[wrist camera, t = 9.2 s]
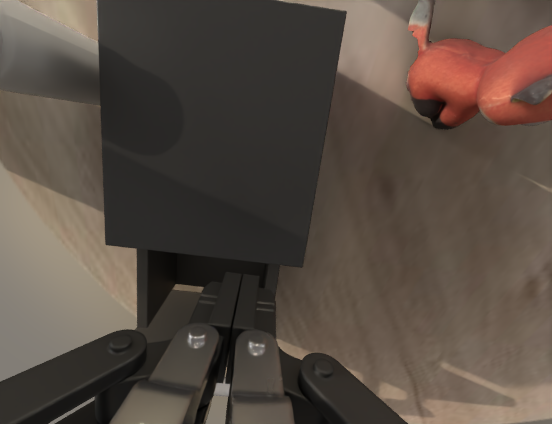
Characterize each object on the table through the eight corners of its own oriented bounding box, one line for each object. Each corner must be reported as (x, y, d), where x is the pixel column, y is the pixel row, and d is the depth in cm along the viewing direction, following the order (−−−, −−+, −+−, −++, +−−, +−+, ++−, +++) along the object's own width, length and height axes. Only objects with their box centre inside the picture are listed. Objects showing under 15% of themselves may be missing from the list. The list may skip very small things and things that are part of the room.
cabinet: (292, 222, 28) (302, 267, 18) (163, 206, 27) (105, 245, 18) (317, 59, 24) (347, 10, 14) (167, 36, 23) (95, -30, 14)
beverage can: (72, 98, 25) (-106, 67, 13) (76, 38, 23) (-119, -55, 12) (128, 112, 25) (2, 95, 13) (134, 54, 24) (1, -21, 12)
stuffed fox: (440, -23, 22) (620, -189, 11) (510, 89, 25) (718, 52, 13) (365, 48, 24) (453, -32, 12) (438, 148, 26) (570, 161, 14)
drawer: (267, 354, 31) (265, 426, 23) (162, 344, 31) (125, 414, 23) (293, 184, 26) (301, 206, 18) (166, 168, 25) (121, 183, 18)
